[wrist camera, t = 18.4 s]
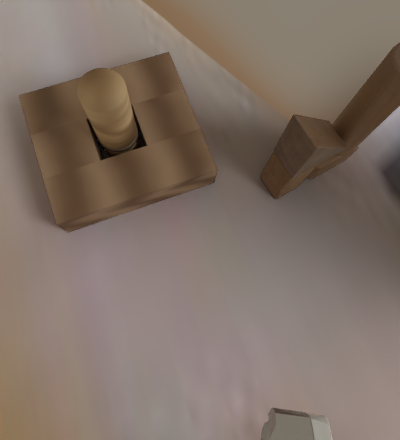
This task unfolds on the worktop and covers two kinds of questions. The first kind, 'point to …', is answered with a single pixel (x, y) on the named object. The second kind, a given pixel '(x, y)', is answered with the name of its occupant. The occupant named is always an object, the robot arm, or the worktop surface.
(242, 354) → the worktop surface
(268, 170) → the wooden braced stand
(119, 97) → the peg
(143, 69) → the board
